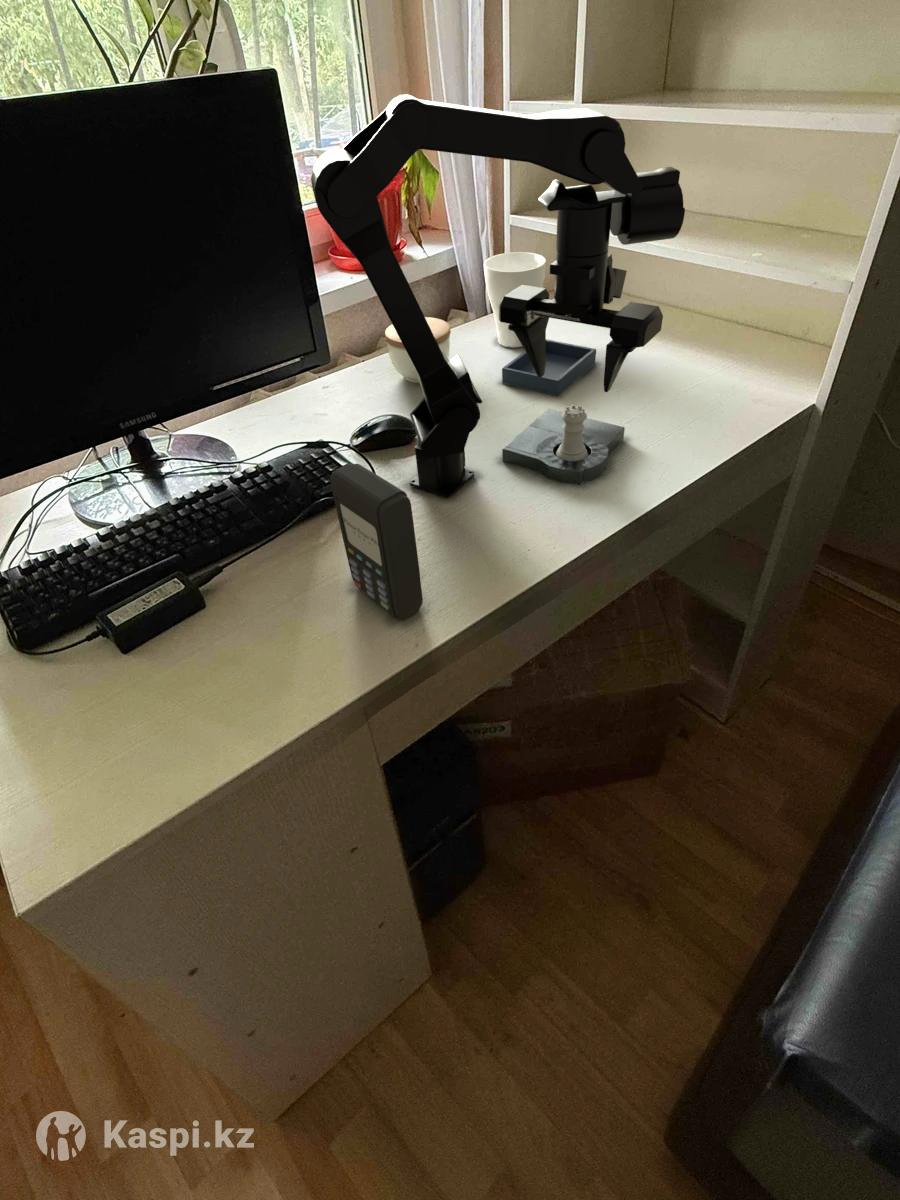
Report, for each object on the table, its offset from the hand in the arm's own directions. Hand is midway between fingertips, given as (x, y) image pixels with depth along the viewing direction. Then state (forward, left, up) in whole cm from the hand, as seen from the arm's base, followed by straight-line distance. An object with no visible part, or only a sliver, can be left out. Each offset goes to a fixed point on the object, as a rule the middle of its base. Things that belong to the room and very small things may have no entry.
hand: (573, 383), depth 86 cm
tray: (+22, +15, -11) cm, 29 cm away
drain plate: (+2, +2, -11) cm, 11 cm away
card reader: (-35, +4, -11) cm, 37 cm away
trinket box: (+12, +34, -11) cm, 38 cm away
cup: (+31, +27, -11) cm, 43 cm away
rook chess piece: (-1, -1, -11) cm, 11 cm away
